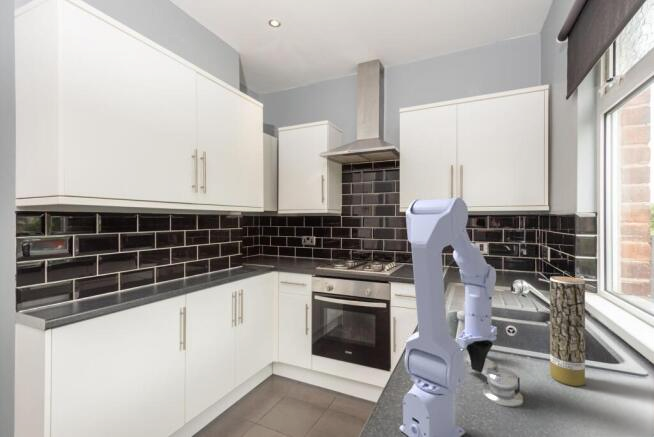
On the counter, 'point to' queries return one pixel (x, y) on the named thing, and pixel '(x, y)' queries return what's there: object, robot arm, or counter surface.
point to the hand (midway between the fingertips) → (477, 370)
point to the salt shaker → (460, 323)
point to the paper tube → (567, 330)
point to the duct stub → (503, 395)
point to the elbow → (495, 374)
